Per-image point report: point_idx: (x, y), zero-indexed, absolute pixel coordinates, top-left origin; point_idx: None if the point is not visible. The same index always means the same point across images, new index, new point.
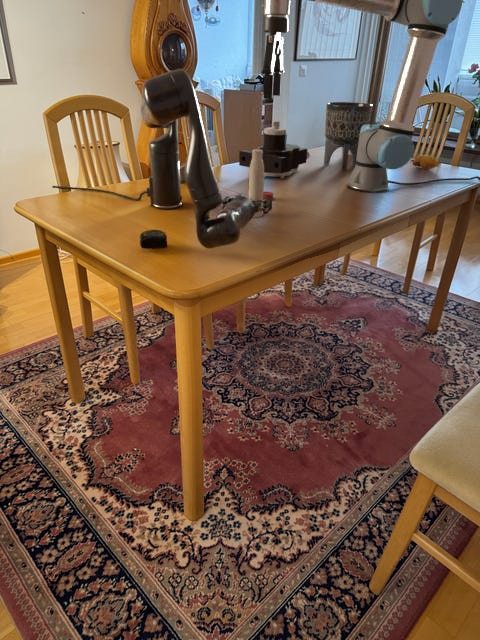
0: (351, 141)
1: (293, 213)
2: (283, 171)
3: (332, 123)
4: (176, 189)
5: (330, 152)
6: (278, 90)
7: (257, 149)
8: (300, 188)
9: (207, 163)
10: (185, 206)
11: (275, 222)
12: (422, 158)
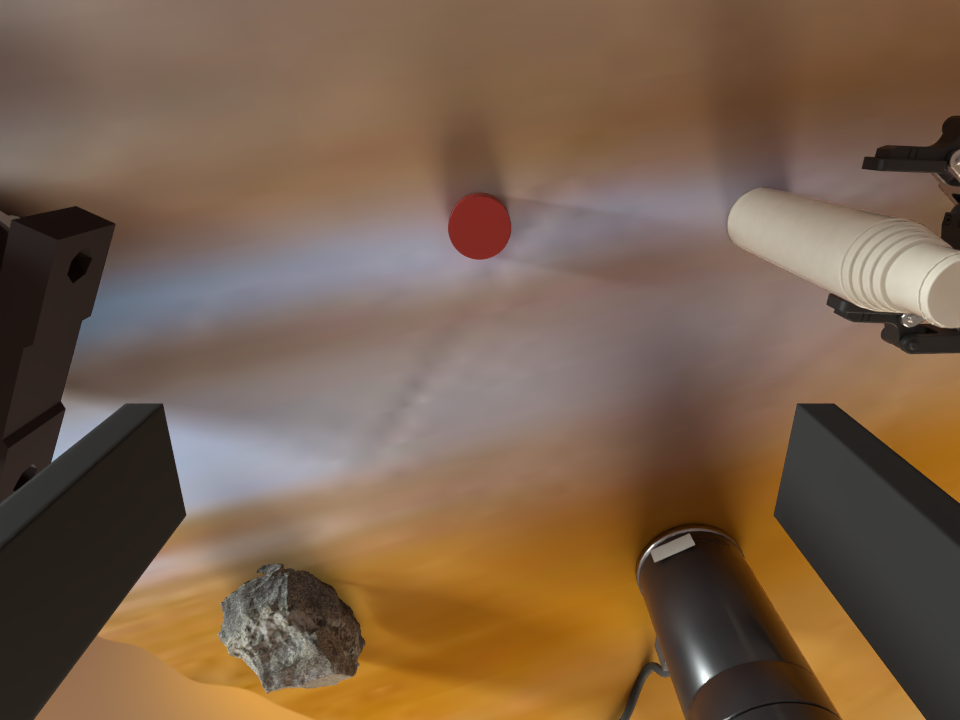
0: None
1: (698, 38)
2: (83, 212)
3: None
4: (742, 575)
5: None
6: (130, 466)
7: (937, 298)
8: (189, 78)
9: None
10: (685, 509)
11: (855, 104)
12: None
